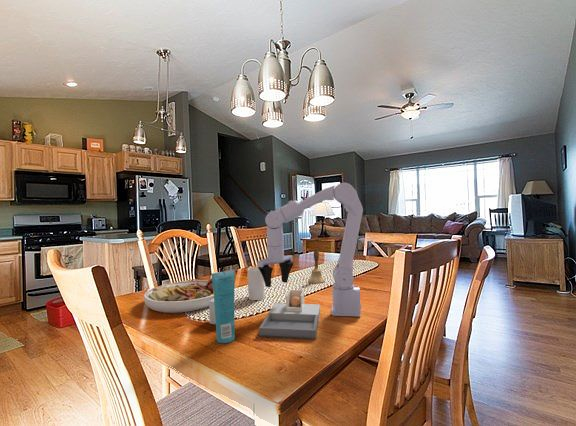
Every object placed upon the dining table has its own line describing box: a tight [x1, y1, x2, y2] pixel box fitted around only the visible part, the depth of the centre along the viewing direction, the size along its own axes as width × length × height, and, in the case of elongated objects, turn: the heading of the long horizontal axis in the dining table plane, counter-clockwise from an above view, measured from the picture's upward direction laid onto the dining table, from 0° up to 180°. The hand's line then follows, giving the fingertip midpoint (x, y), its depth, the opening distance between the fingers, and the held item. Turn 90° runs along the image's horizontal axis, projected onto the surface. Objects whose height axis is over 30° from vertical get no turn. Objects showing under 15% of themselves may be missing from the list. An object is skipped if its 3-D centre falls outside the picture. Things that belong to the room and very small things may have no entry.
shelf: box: [268, 302, 321, 323], centre depth 102 cm, size 16×10×2 cm, turn 81°
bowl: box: [143, 277, 214, 314], centre depth 120 cm, size 30×30×8 cm
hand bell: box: [307, 247, 326, 284], centre depth 147 cm, size 8×8×16 cm
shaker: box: [285, 289, 305, 312], centre depth 102 cm, size 5×7×5 cm
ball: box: [291, 296, 301, 307], centre depth 103 cm, size 3×3×3 cm
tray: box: [258, 312, 319, 340], centre depth 91 cm, size 16×12×2 cm
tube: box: [210, 269, 236, 344], centre depth 84 cm, size 7×5×19 cm, turn 140°
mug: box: [247, 266, 265, 301], centre depth 123 cm, size 10×7×12 cm, turn 21°
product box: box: [208, 299, 235, 325], centre depth 98 cm, size 6×6×7 cm
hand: (276, 284), depth 106 cm, fingers open, 7 cm apart
